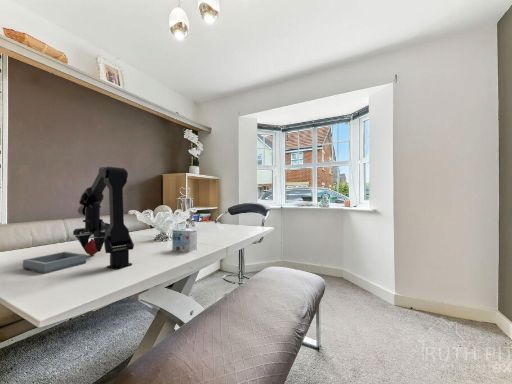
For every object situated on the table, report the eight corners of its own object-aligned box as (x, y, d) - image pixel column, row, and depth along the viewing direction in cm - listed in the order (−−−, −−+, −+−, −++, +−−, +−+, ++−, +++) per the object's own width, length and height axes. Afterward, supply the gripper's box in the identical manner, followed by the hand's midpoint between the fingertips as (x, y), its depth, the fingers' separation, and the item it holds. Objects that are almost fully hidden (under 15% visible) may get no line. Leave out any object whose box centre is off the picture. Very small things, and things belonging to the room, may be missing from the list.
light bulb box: (171, 250, 117) (171, 229, 117) (179, 248, 123) (179, 227, 123) (190, 252, 114) (190, 230, 114) (197, 249, 120) (197, 228, 120)
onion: (102, 254, 110) (102, 237, 110) (93, 257, 104) (93, 239, 104) (91, 253, 111) (91, 237, 111) (81, 257, 105) (81, 239, 105)
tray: (85, 263, 95) (86, 254, 95) (44, 273, 82) (44, 264, 82) (64, 259, 101) (65, 251, 101) (23, 269, 88) (23, 259, 88)
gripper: (122, 216, 112) (122, 248, 112) (96, 215, 119) (96, 245, 118) (99, 218, 101) (99, 254, 101) (72, 217, 108) (72, 250, 108)
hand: (92, 250), depth 107 cm, fingers open, 9 cm apart
